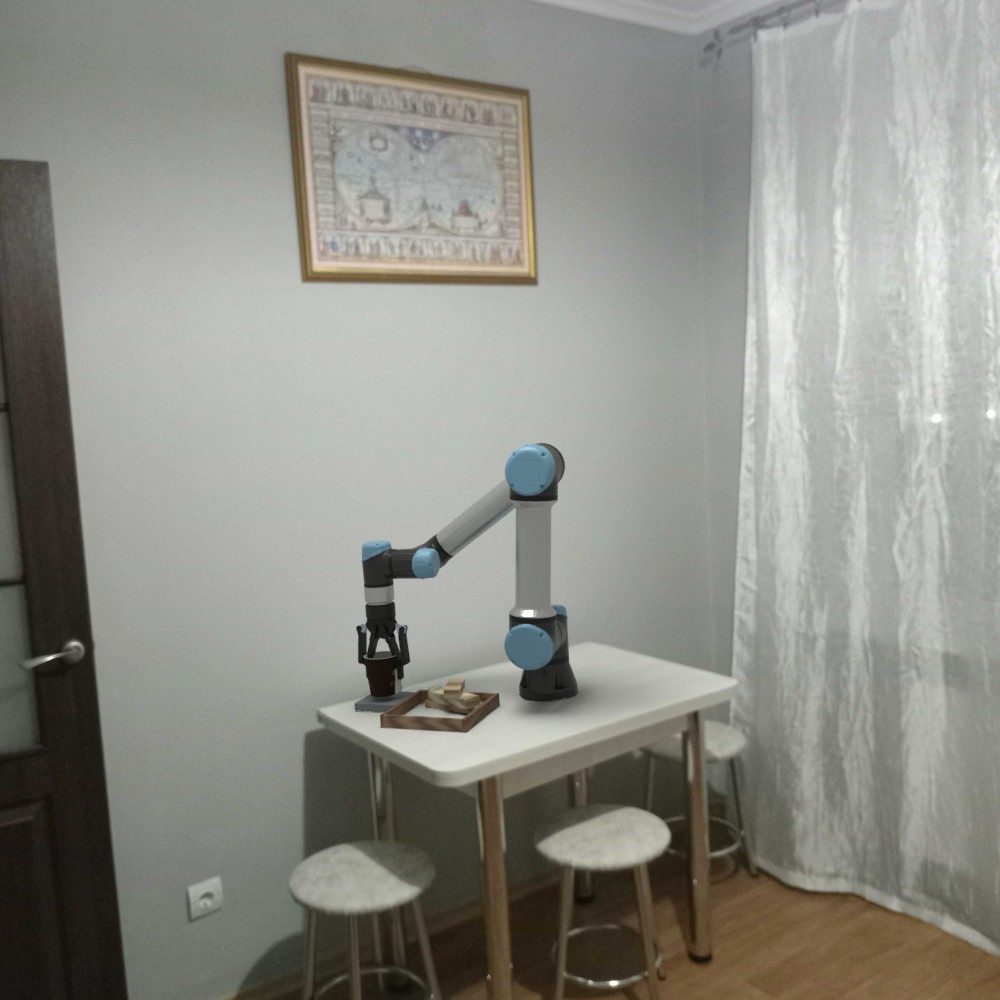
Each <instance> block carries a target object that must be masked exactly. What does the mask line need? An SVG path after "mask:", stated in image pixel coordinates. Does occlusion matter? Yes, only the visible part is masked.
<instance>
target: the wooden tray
mask: <svg viewBox="0 0 1000 1000" xmlns="http://www.w3.org/2000/svg"><path fill="white" fill-rule="evenodd" d="M429 690H430V689H418V690H416V691H414V692H415V693H413V694H412V695H410V696H409V697H407V698H406V699H404V700H402V701H401V702H399V703H398V704H396V705H395V706H393V707H391V708H390V709H388V710H387V711H385V712H384V713H380V715H379V722H380V728H384V727H385V728H387V729H388V728H389V729H405V730H418V729H421V730H423V731H436V732H437V731H439V732H454V733H467V732H469V731H470V730H471V729H472V728H474V727H475V726H476V725H477V724H478V723H480V722H481V721H482V720H483V719H484V718H486V717H487V716H489V714H491V713H492V712H493V711H494V710H495V709H496V708H498V707H499V706H500V703H501V702H500V701H501V700H500V692H484V691H483V692H482V691H479V692H478V691H465V692H466V693H471V694H475V695H479V699H480V702H483V703H482V704H480V705H479V706H478V707H477V708H475V709H474V710H473V711H471V712H470V713H469V714H468V713H467V714H466V715H465V716H464V717H461V718H459V717H444V716H443V717H442V716H424V715H408V714H407V713H408V712H410V711H411V710H413V709H414V708H416V707H418V706H419V705H420V704H422V703H425V700H428V692H427V691H429ZM421 702H422V703H421ZM418 704H419V705H418ZM406 714H407V715H406ZM385 728H384V729H385Z"/></svg>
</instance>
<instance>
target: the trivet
mask: <svg viewBox="0 0 1000 1000" xmlns="http://www.w3.org/2000/svg"><path fill="white" fill-rule="evenodd" d="M415 692H416V691H403V690H402V691H400V692H399V693H396V694H394V695H392V696H388V697H373V696H371V693H370V694H367V695H366V696H365V697H363V698H361V699H359V700H358V701H356V702H355V703H353V704H354V711H355V710H361V711H360V712H363V711H371V712H370V713H381V712H385V711H387V710H388V709H390V708H391V707H393V706H395V705H396V704H398V703H399V702H401V701H402V700H404V699H406V698H407V697H409V696H410V695H412V694H413V693H415Z"/></svg>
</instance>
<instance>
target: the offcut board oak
mask: <svg viewBox="0 0 1000 1000" xmlns="http://www.w3.org/2000/svg"><path fill="white" fill-rule="evenodd" d="M482 703H483V702H480V704H482ZM478 706H479V705H478ZM478 706H475V707H473V708H470V709H467V710H466V709H461V708H457V707H453V706H449V705H445V704H441V703H437V702H433V701H428V700H425V702H424V708H425V707H426V708H425V709H431V708H433V710H438V709H440V711H446V710H447V711H446V712H456V713H461V714H467V715H468V714H469V713H470V712H471V711H473V710H474V709H475V708H477V707H478Z"/></svg>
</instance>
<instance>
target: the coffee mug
mask: <svg viewBox="0 0 1000 1000" xmlns="http://www.w3.org/2000/svg"><path fill="white" fill-rule="evenodd" d="M364 661H365V665H364V666H365V673H366V672H367V677H368V678H367V677H366V678H367V681H368V686H369V692H370V694H371V696H373V697H388V696H392V695H394V694H396V693H395V676H396V668H395V666H396V655H395V656H392V654H391V652H390V650H384V651H382V650H380V651H376V652H375V655H374V657H373V659H368V656H367V654H366V655H364Z"/></svg>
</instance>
